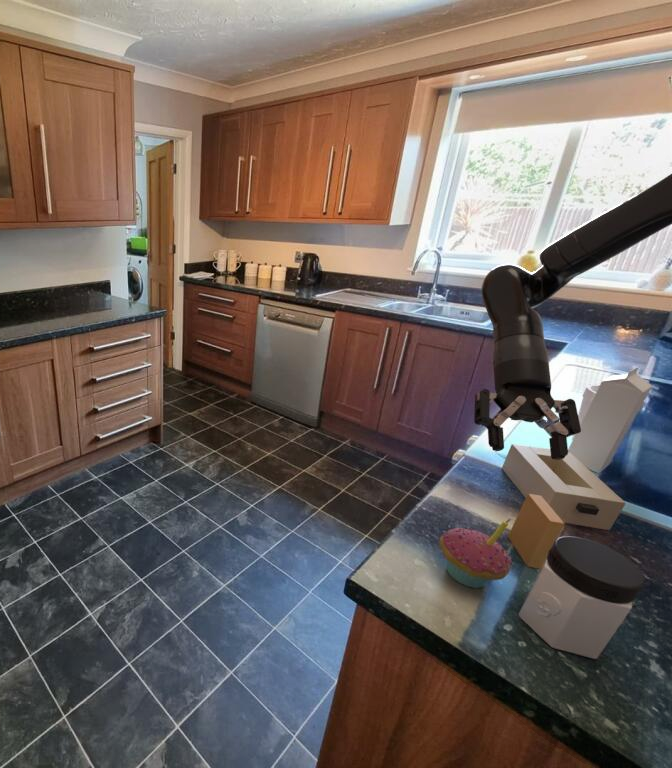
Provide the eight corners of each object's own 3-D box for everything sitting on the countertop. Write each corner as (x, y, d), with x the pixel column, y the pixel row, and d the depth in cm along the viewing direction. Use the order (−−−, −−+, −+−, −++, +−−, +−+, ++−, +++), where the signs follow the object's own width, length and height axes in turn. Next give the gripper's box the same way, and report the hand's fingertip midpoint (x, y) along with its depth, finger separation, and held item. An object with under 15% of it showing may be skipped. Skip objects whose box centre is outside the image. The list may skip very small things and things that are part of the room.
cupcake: (498, 569, 64) (528, 507, 60) (501, 610, 58) (534, 545, 53) (433, 545, 69) (456, 485, 64) (429, 580, 62) (454, 517, 57)
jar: (501, 602, 59) (533, 537, 54) (548, 593, 61) (584, 529, 56) (568, 666, 51) (614, 597, 46) (621, 654, 53) (670, 585, 48)
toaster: (501, 468, 89) (511, 443, 87) (557, 476, 87) (569, 451, 84) (545, 523, 74) (559, 496, 72) (614, 535, 72) (631, 507, 69)
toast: (520, 538, 71) (541, 495, 67) (540, 568, 65) (564, 523, 61) (507, 536, 71) (527, 493, 67) (526, 566, 65) (550, 521, 62)
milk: (563, 459, 93) (607, 366, 84) (573, 452, 96) (617, 360, 87) (599, 474, 88) (651, 376, 79) (609, 465, 91) (660, 370, 82)
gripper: (485, 352, 74) (490, 442, 68) (583, 361, 70) (597, 457, 65) (464, 369, 80) (468, 452, 75) (553, 378, 77) (563, 466, 72)
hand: (528, 454), depth 70 cm, fingers open, 8 cm apart
